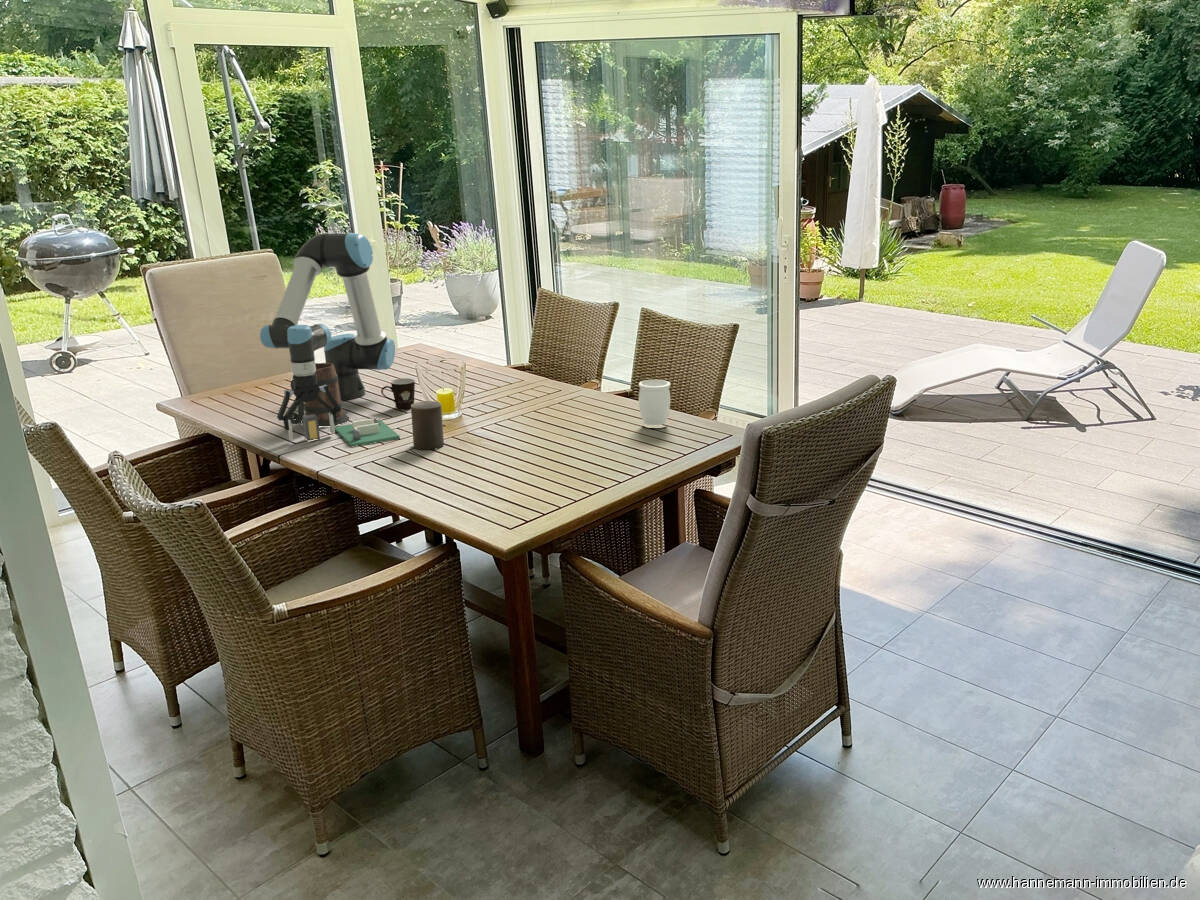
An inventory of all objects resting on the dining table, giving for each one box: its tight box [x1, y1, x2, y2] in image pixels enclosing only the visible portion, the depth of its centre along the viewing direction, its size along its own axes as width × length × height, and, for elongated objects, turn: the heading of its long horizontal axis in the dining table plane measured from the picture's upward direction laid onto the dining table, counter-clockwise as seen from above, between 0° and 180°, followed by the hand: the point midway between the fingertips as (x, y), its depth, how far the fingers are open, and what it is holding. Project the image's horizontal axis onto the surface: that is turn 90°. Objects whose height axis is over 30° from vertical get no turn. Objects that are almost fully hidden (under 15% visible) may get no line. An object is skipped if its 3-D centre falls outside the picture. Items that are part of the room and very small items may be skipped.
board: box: [334, 418, 401, 447], centre depth 324 cm, size 22×16×4 cm
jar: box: [638, 379, 671, 425], centre depth 324 cm, size 11×10×15 cm
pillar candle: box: [410, 400, 445, 451], centre depth 310 cm, size 10×10×15 cm
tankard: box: [289, 362, 350, 426], centre depth 335 cm, size 24×17×20 cm
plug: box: [302, 414, 321, 440], centre depth 319 cm, size 4×4×8 cm
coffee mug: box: [381, 377, 416, 411], centre depth 353 cm, size 12×9×10 cm
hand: (312, 436), depth 320 cm, fingers open, 13 cm apart
